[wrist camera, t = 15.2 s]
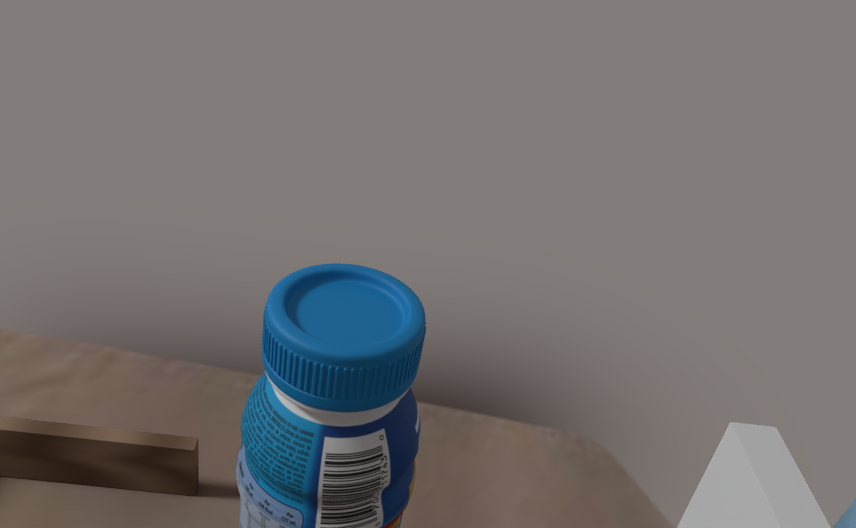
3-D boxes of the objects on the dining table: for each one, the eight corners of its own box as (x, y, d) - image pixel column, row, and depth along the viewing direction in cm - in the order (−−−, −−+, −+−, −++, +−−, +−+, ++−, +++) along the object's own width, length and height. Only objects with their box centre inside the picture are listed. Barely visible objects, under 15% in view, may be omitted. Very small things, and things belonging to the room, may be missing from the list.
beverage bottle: (200, 631, 39) (198, 323, 28) (281, 512, 46) (305, 230, 35) (347, 701, 37) (404, 401, 27) (409, 567, 44) (473, 287, 34)
